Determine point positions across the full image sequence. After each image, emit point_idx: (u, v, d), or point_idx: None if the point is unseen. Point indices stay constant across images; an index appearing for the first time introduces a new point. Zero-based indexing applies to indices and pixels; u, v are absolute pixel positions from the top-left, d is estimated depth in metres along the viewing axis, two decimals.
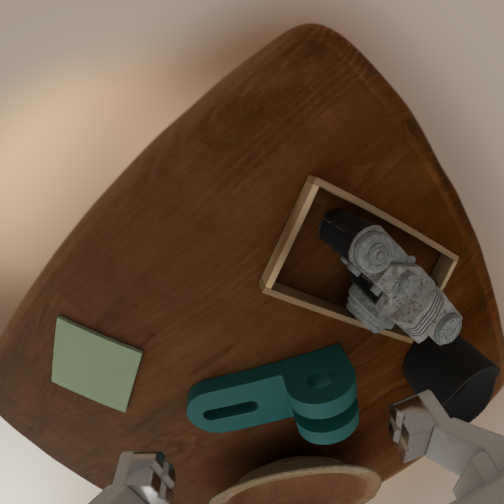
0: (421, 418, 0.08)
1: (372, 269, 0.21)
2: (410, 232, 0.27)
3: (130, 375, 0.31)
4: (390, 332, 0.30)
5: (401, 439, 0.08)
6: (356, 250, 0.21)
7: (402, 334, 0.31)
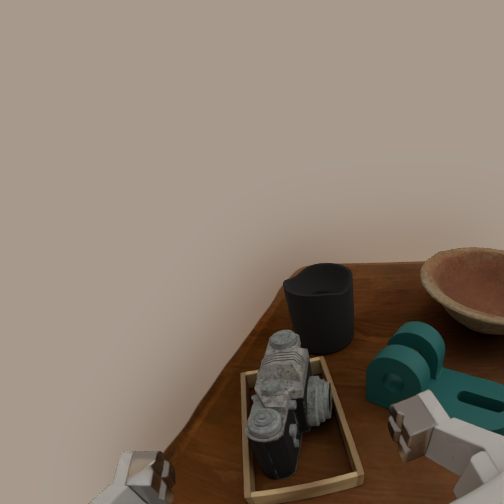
0: (421, 418, 0.08)
1: (276, 415, 0.24)
2: (245, 416, 0.32)
3: None
4: (326, 375, 0.35)
5: (401, 439, 0.08)
6: (270, 434, 0.23)
7: (322, 367, 0.37)
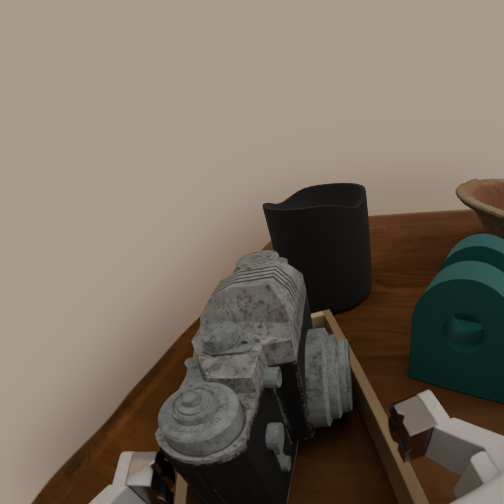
0: (421, 418, 0.08)
1: (227, 398, 0.10)
2: None
3: None
4: None
5: (401, 439, 0.08)
6: (210, 446, 0.08)
7: (328, 325, 0.23)
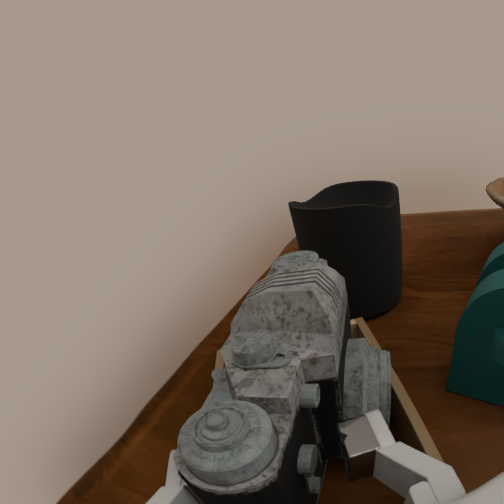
0: (364, 439, 0.08)
1: (258, 422, 0.08)
2: None
3: None
4: None
5: (346, 458, 0.08)
6: (236, 476, 0.07)
7: (362, 335, 0.20)
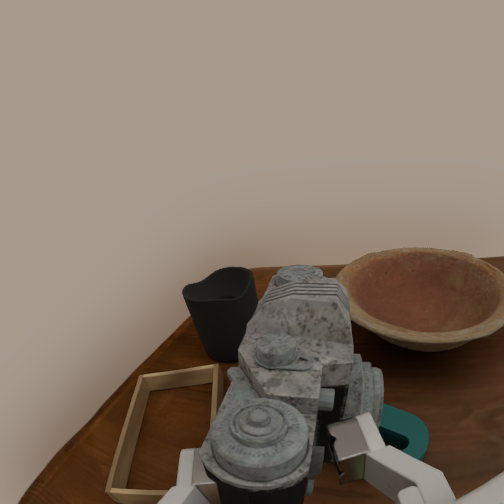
0: (354, 443, 0.08)
1: (296, 419, 0.08)
2: (129, 416, 0.30)
3: None
4: (213, 384, 0.34)
5: (336, 461, 0.08)
6: (277, 471, 0.07)
7: None
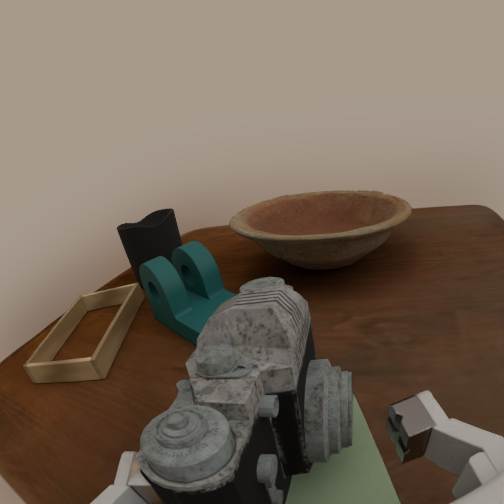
0: (420, 419, 0.08)
1: (216, 424, 0.09)
2: (61, 320, 0.37)
3: None
4: (128, 294, 0.40)
5: (400, 440, 0.08)
6: (194, 473, 0.07)
7: None
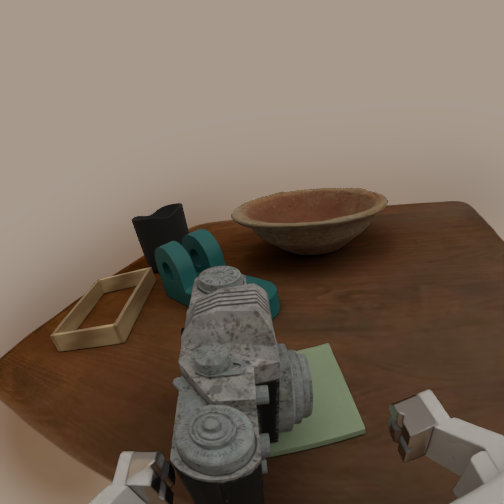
0: (421, 418, 0.08)
1: (241, 420, 0.10)
2: (82, 299, 0.44)
3: None
4: (143, 276, 0.47)
5: (401, 439, 0.08)
6: (237, 464, 0.09)
7: None
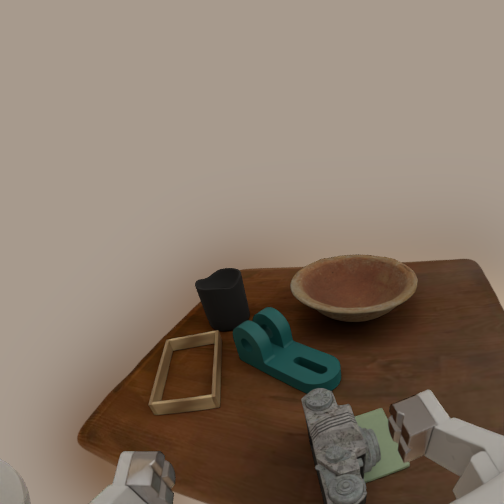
0: (421, 418, 0.08)
1: (356, 479, 0.20)
2: (161, 363, 0.53)
3: None
4: (215, 341, 0.56)
5: (401, 439, 0.08)
6: (358, 498, 0.18)
7: None
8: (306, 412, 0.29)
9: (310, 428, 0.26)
